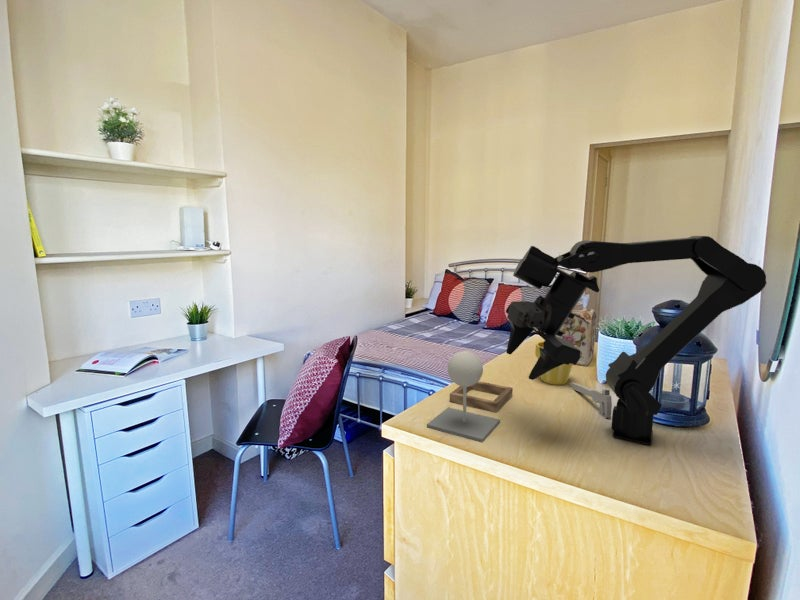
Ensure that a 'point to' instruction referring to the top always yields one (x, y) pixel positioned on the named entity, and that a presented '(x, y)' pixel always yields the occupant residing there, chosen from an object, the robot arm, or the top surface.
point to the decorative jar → (581, 332)
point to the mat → (464, 424)
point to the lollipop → (465, 372)
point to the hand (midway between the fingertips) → (518, 365)
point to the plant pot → (554, 370)
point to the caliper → (597, 398)
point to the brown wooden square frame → (480, 403)
